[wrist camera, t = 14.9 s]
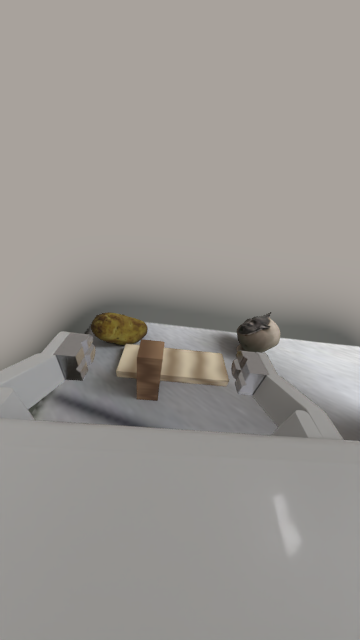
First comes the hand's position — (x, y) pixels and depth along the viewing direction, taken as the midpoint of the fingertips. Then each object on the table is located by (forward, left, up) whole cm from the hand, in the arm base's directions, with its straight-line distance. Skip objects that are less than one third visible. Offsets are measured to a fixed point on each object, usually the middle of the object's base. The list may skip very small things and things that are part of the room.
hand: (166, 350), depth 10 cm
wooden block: (+2, -17, -26) cm, 31 cm away
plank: (-3, -20, -26) cm, 33 cm away
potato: (+11, -27, -26) cm, 39 cm away
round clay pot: (-24, -28, -26) cm, 45 cm away
